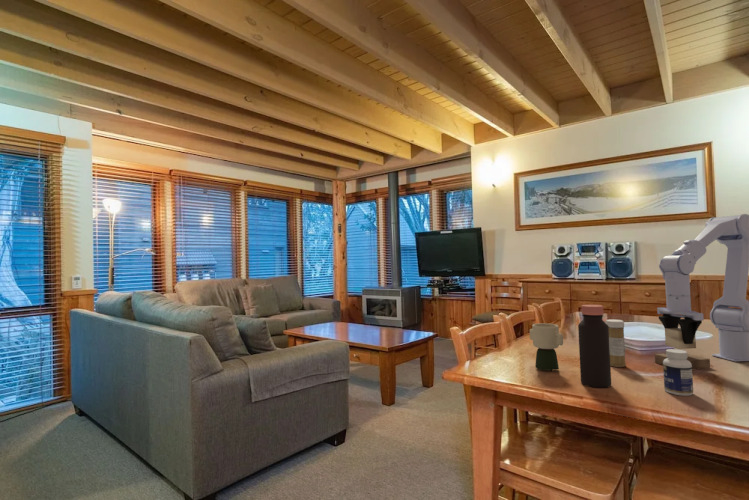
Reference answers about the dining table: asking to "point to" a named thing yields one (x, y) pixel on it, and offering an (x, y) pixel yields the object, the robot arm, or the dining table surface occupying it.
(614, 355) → the sprinkles bottle
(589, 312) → the vinegar
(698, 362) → the walnut block
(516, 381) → the dining table surface
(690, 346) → the maple cube
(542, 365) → the character mug
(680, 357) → the pill bottle
